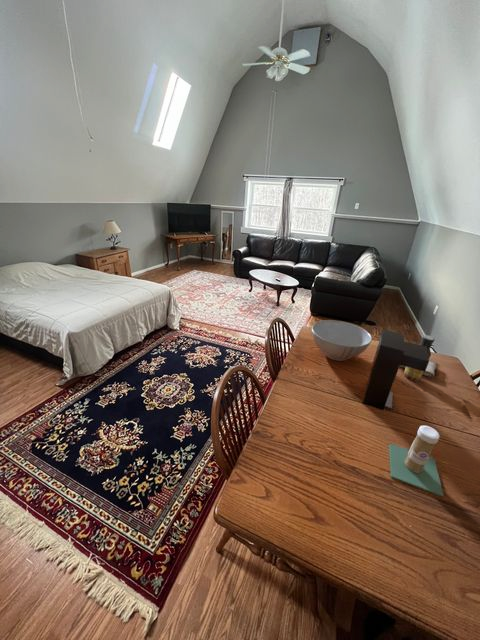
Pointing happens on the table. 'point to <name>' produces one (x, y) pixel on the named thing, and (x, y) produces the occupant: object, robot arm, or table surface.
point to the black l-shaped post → (391, 367)
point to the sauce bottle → (427, 341)
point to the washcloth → (427, 369)
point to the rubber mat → (421, 480)
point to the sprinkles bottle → (421, 448)
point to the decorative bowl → (340, 339)
